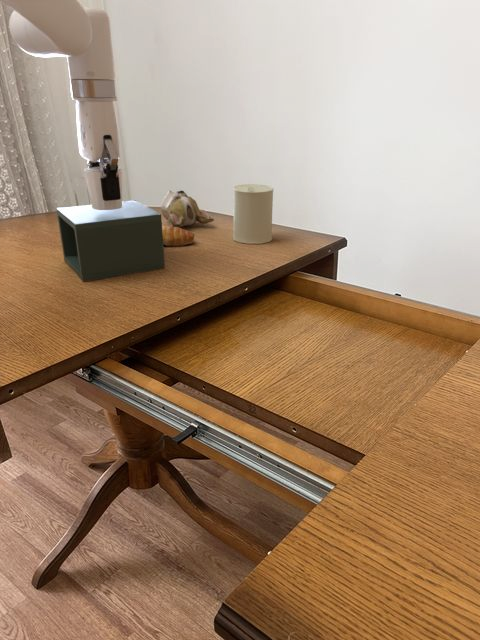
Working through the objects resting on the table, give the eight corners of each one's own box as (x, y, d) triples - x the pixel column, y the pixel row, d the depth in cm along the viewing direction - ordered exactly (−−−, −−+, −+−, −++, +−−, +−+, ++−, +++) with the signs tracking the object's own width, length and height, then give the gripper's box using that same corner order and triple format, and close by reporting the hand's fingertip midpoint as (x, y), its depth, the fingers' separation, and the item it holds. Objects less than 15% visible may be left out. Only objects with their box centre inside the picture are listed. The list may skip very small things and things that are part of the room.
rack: (83, 281, 99) (75, 224, 95) (64, 260, 110) (56, 208, 105) (164, 268, 107) (161, 214, 102) (139, 249, 118) (135, 200, 113)
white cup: (132, 204, 105) (128, 167, 102) (114, 212, 99) (110, 172, 96) (100, 201, 107) (96, 164, 104) (81, 209, 101) (75, 170, 98)
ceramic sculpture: (187, 182, 141) (216, 196, 130) (188, 215, 145) (216, 231, 135) (149, 186, 135) (176, 201, 125) (151, 220, 140) (177, 237, 129)
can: (228, 242, 123) (228, 188, 118) (237, 232, 132) (237, 181, 126) (268, 245, 122) (270, 190, 117) (275, 234, 130) (276, 183, 125)
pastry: (196, 239, 126) (195, 222, 124) (192, 247, 120) (191, 230, 118) (155, 238, 126) (154, 222, 124) (150, 247, 120) (148, 230, 118)
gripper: (59, 89, 99) (73, 189, 107) (86, 93, 86) (99, 207, 94) (100, 89, 103) (110, 186, 111) (132, 93, 89) (141, 203, 98)
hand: (105, 195), depth 102 cm, fingers closed on white cup, 6 cm apart
